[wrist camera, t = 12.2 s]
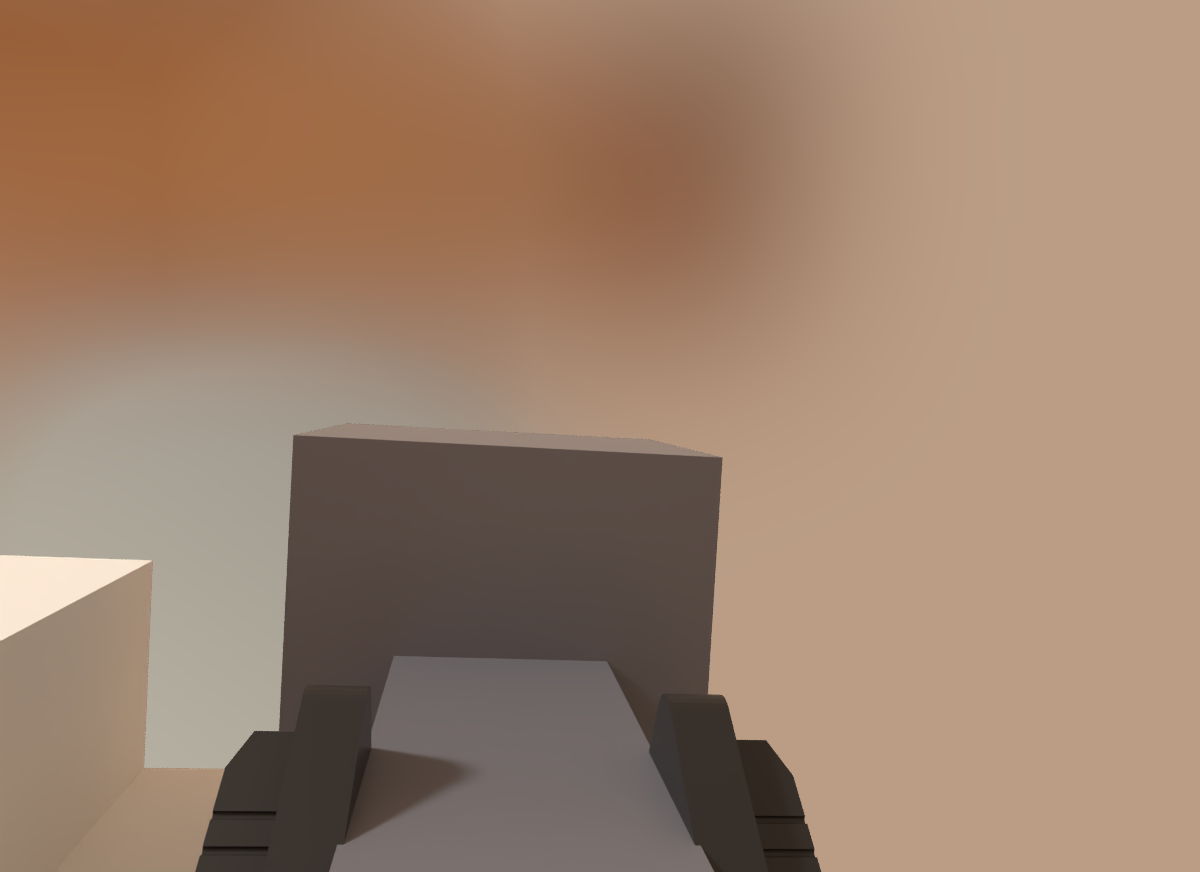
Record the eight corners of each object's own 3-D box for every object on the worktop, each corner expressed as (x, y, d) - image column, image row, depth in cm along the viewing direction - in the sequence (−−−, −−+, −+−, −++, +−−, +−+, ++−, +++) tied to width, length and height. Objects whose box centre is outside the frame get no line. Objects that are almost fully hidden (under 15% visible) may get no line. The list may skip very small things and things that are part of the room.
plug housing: (7, 1364, 7) (45, 490, 7) (333, 684, 23) (347, 423, 23) (974, 1307, 8) (1030, 533, 8) (635, 690, 24) (649, 439, 24)
